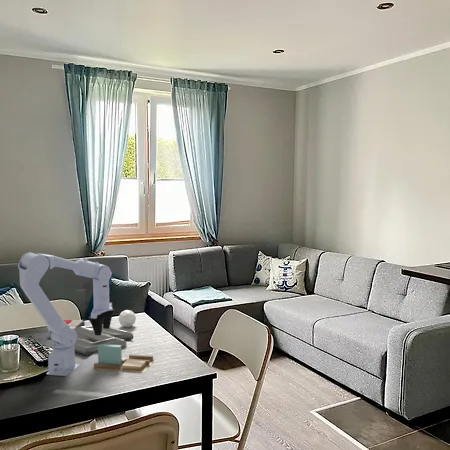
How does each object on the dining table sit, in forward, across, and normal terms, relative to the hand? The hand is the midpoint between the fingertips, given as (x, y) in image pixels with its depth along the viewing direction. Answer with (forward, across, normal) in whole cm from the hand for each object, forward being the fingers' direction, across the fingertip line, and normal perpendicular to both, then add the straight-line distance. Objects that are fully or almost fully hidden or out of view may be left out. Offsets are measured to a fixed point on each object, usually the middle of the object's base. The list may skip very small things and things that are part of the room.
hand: (102, 331), depth 176 cm
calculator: (+11, +27, +29) cm, 41 cm away
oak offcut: (+9, -9, -15) cm, 20 cm away
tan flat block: (+9, -9, -15) cm, 20 cm away
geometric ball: (+11, +39, +5) cm, 41 cm away
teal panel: (+9, -9, -6) cm, 14 cm away
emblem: (+11, +15, +9) cm, 21 cm away
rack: (+10, -6, -11) cm, 16 cm away
